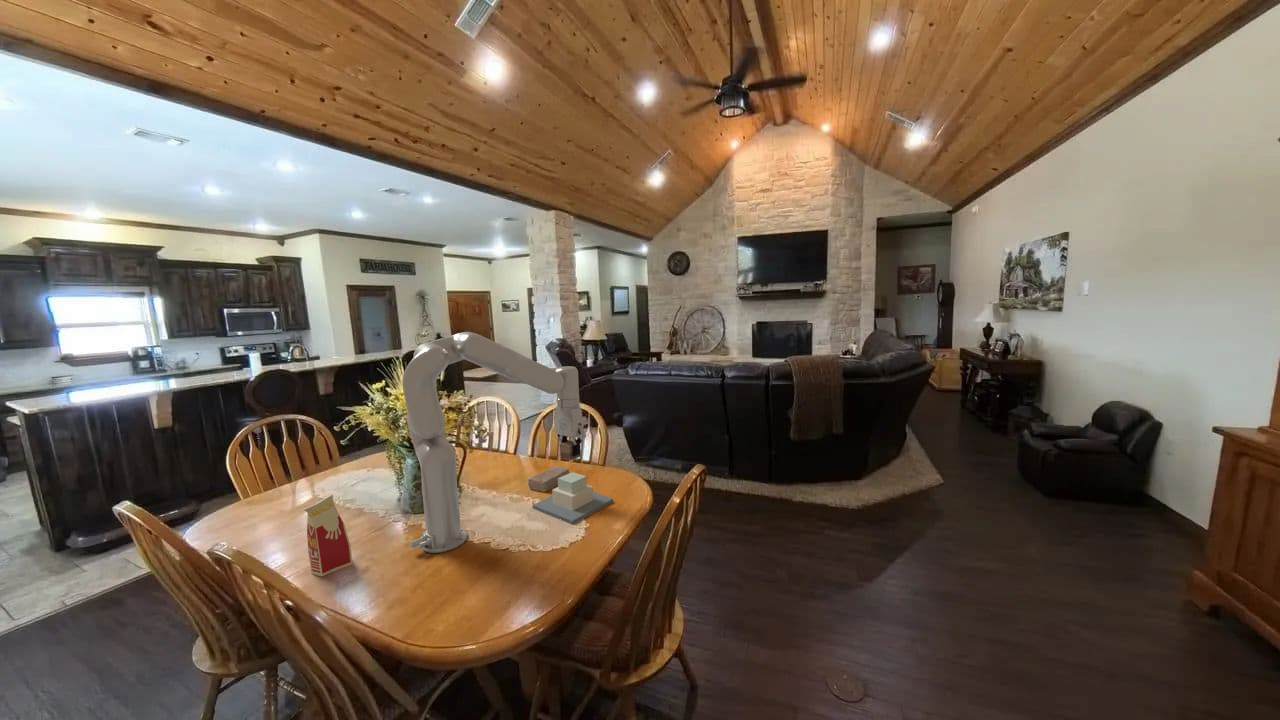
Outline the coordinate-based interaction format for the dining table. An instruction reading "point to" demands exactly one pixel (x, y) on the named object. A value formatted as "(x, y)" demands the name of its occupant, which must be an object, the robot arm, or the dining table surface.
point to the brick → (547, 479)
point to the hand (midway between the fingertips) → (570, 453)
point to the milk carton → (327, 538)
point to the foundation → (572, 504)
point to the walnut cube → (567, 451)
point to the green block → (572, 482)
